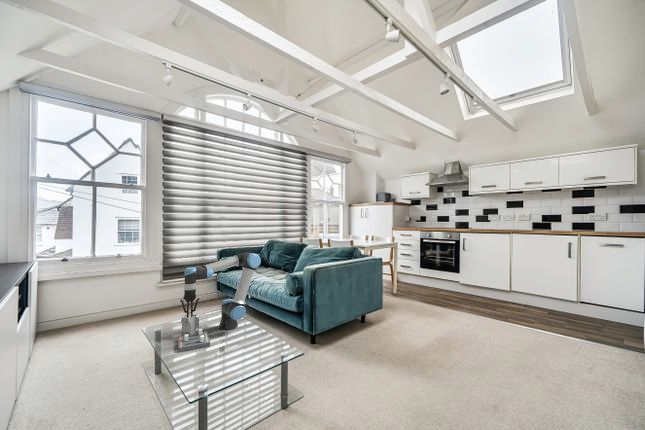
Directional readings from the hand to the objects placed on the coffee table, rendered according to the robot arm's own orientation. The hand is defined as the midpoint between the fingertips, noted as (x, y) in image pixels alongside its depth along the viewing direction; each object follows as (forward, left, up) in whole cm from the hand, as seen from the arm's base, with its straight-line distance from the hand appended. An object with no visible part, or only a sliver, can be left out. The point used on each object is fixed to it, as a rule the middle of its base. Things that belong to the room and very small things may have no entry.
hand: (189, 321), depth 202 cm
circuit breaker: (-2, -20, -17) cm, 26 cm away
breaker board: (-3, 0, -16) cm, 17 cm away
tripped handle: (+2, 0, -13) cm, 13 cm away
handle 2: (-8, +7, -13) cm, 17 cm away
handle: (-8, -7, -13) cm, 17 cm away
